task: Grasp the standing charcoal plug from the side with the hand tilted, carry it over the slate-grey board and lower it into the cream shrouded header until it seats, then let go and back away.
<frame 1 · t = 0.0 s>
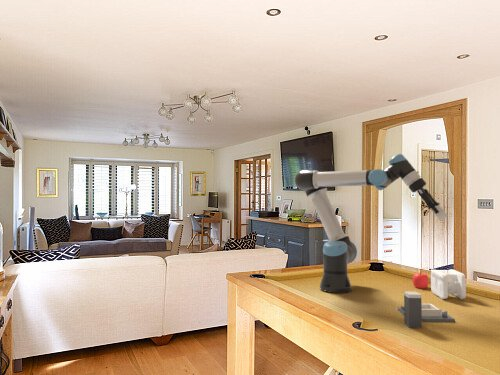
hand: (444, 218, 177), 36 cm above the table, tool tilted 35°, fingers open, 13 cm apart
plug: (413, 325, 136), on the table
board: (424, 315, 147), on the table
apple: (420, 288, 194), on the table
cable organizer: (447, 297, 175), on the table
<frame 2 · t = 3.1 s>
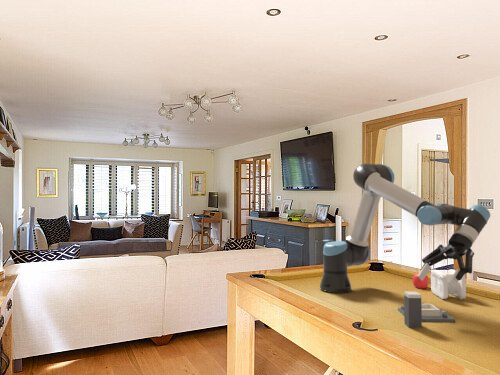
hand: (434, 281, 140), 15 cm above the table, tool tilted 45°, fingers open, 13 cm apart
nothing on the table moved.
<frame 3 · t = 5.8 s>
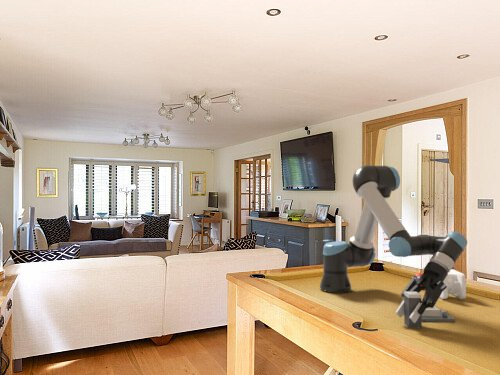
hand: (405, 317, 135), 3 cm above the table, tool tilted 45°, fingers closed on plug, 6 cm apart
plug: (412, 325, 136), on the table, touching gripper
everything else where it was.
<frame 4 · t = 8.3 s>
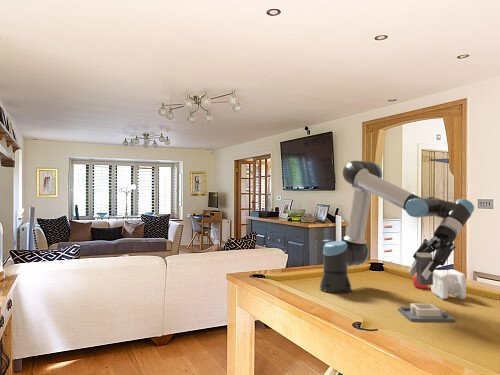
hand: (417, 275, 146), 16 cm above the table, tool tilted 45°, fingers closed on plug, 6 cm apart
plug: (424, 283, 148), point 12 cm above the table, touching gripper
everything else where it was.
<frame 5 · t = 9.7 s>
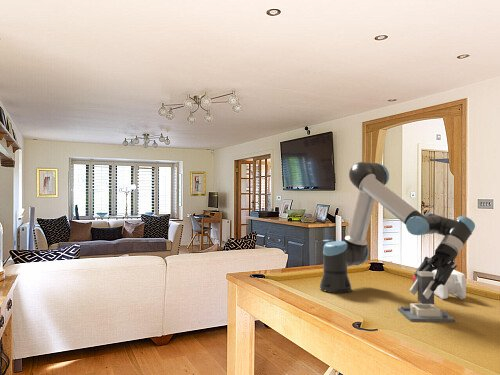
hand: (418, 294, 146), 9 cm above the table, tool tilted 45°, fingers closed on plug, 6 cm apart
plug: (425, 302, 147), point 5 cm above the table, touching gripper
everything else where it was.
when the fingers open (5 cm above the table, at t = 11.0 s): plug stays where it is, resting on board.
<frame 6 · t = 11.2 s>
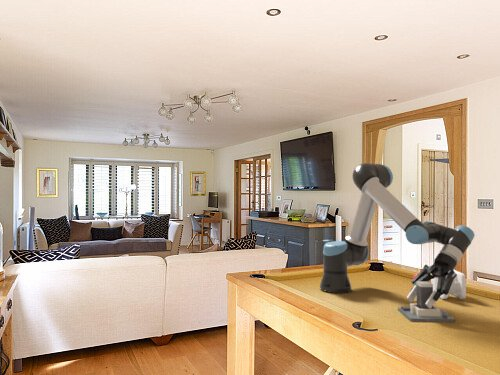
hand: (418, 303, 146), 5 cm above the table, tool tilted 45°, fingers open, 8 cm apart
plug: (424, 312, 147), point 1 cm above the table, touching board
everything else where it was.
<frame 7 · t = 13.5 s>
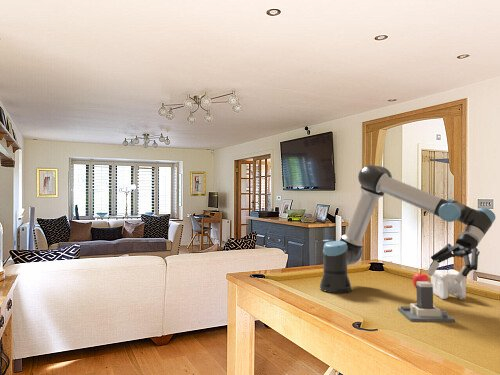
hand: (442, 277, 154), 13 cm above the table, tool tilted 45°, fingers open, 13 cm apart
nothing on the table moved.
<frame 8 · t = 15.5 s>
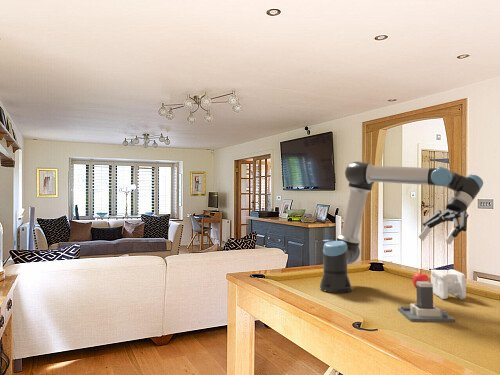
hand: (433, 240, 160), 28 cm above the table, tool tilted 45°, fingers open, 13 cm apart
nothing on the table moved.
at the end: plug 0.0 cm off-centre on the board, point 1.0 cm above the board's base; plug tilted 0°; the gripper is holding nothing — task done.
